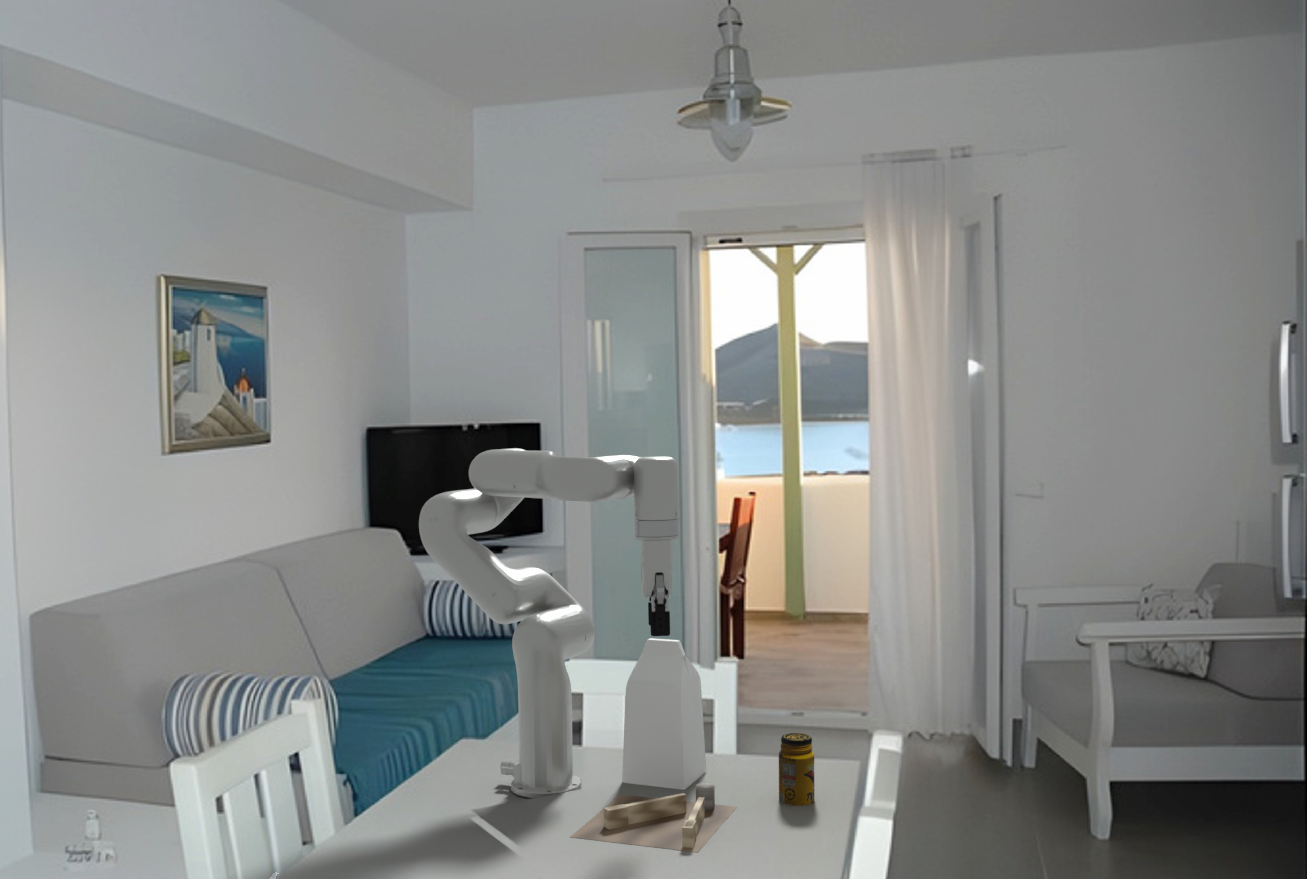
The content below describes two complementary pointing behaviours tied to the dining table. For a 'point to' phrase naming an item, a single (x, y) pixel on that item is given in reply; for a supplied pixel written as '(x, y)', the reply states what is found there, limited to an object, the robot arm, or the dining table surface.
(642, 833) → the board
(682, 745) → the milk
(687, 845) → the beige long slender part
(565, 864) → the dining table surface
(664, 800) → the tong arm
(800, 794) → the condiment
